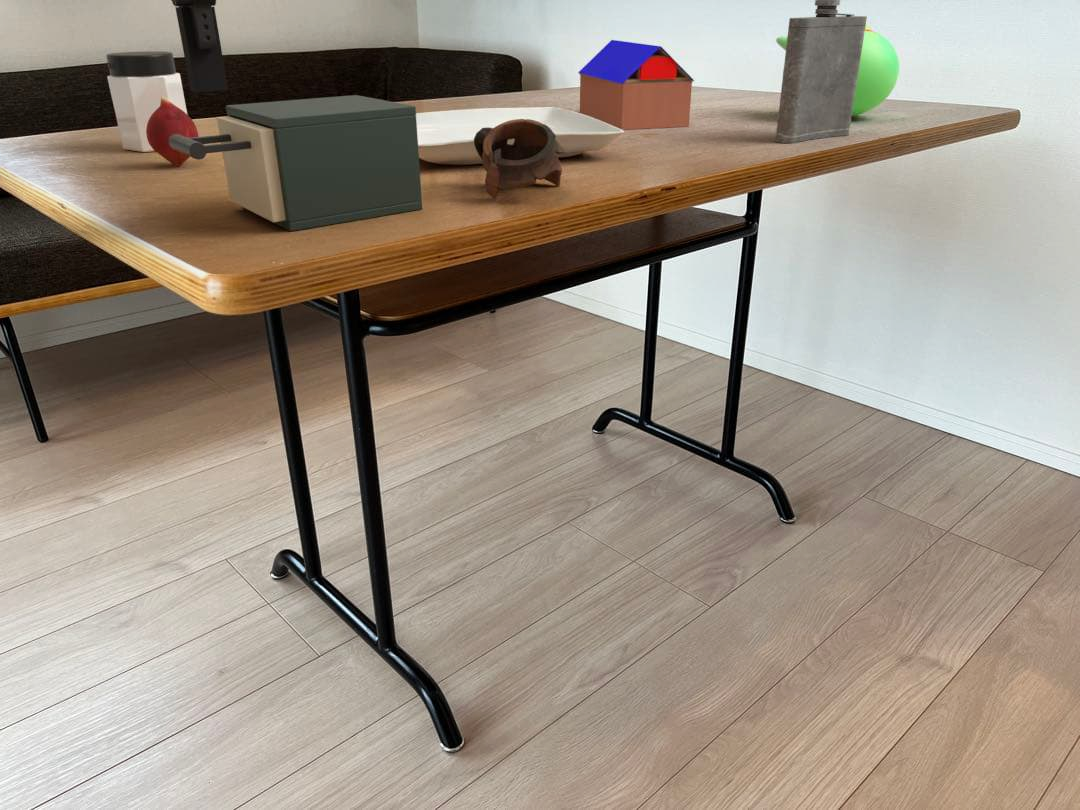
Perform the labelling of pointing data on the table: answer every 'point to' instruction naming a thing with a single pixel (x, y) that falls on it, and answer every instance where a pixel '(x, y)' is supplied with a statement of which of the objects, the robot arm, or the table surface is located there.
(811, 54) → the flask
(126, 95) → the jar
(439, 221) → the table surface
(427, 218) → the table surface
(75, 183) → the table surface
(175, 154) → the onion
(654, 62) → the house
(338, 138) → the cabinet
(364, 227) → the table surface
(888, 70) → the toy bird
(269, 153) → the drawer
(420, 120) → the square plate
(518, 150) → the pottery mug
